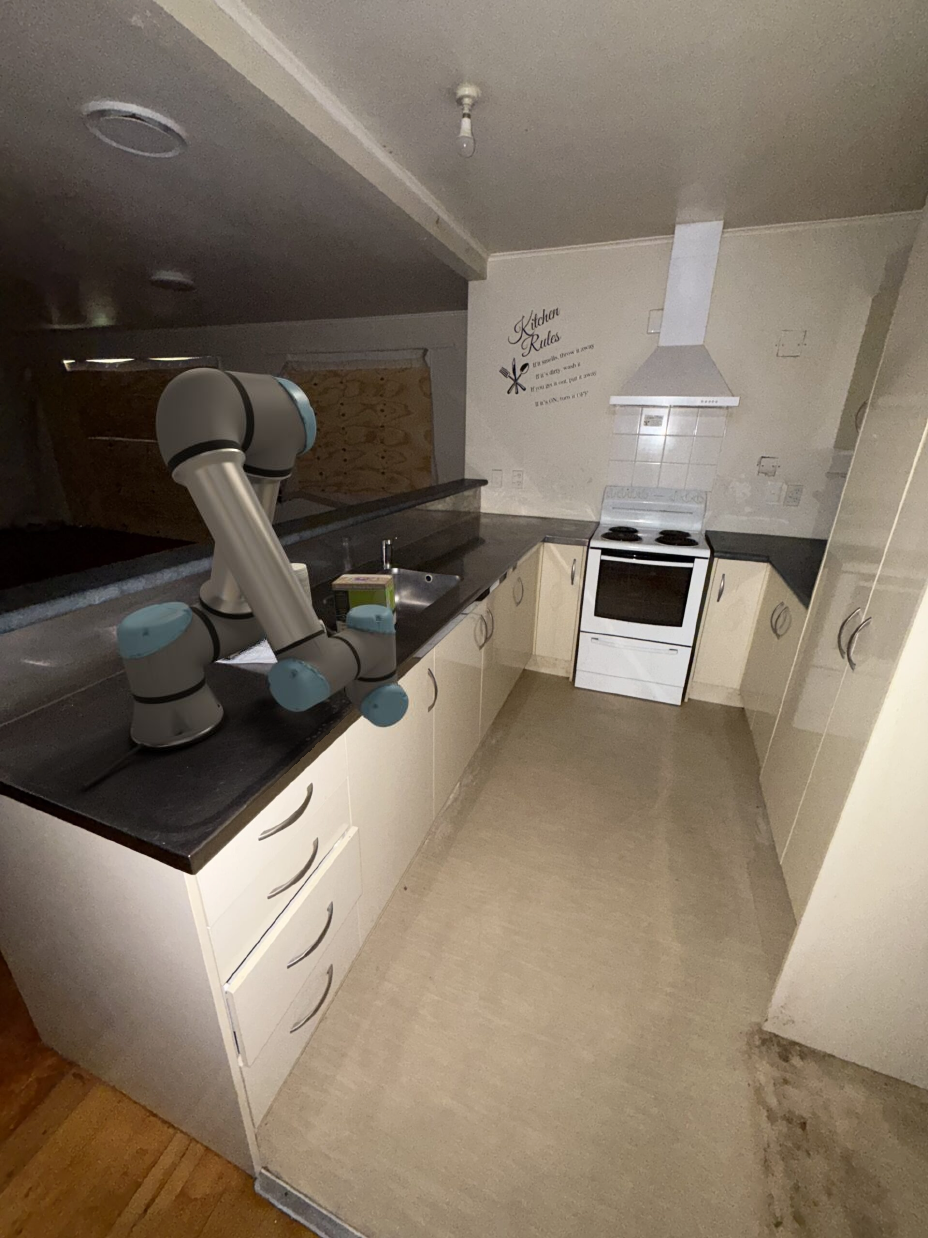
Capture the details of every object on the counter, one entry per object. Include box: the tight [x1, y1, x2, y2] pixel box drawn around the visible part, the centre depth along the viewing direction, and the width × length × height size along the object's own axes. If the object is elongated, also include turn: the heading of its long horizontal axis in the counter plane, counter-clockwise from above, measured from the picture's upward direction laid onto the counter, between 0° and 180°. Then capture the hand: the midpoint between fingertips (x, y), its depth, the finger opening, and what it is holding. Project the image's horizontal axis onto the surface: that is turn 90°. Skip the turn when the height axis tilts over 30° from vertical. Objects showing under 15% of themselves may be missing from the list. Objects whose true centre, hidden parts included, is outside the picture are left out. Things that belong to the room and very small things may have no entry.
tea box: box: [331, 573, 397, 633], centre depth 137 cm, size 15×10×15 cm, turn 84°
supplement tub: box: [290, 562, 313, 606], centre depth 149 cm, size 10×10×15 cm
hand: (311, 633), depth 108 cm, fingers closed on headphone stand, 5 cm apart
